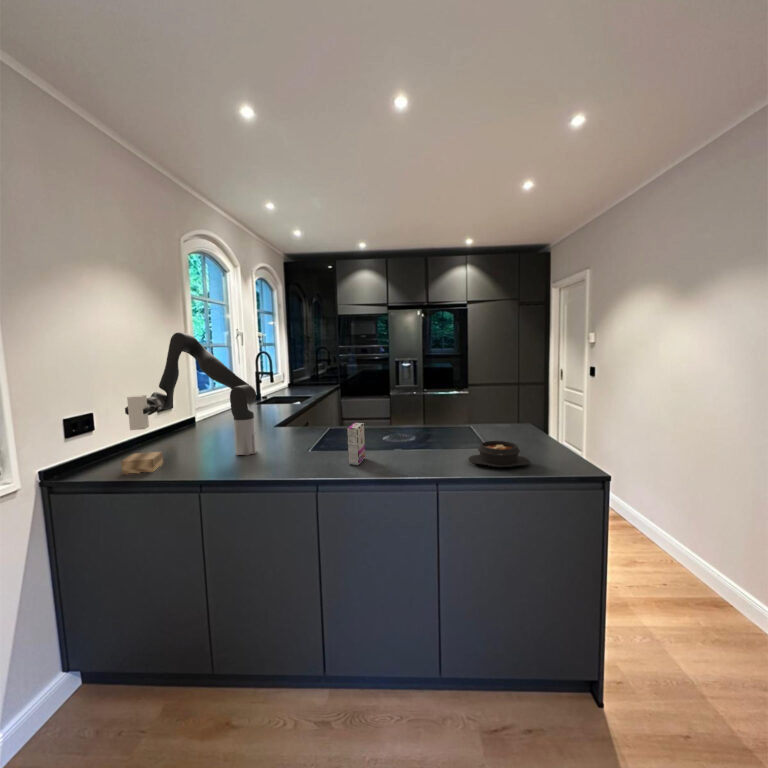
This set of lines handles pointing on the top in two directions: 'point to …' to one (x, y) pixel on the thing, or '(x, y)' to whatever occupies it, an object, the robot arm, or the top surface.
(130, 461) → the oak block
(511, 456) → the casserole
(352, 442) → the candy bar box
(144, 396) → the off-white column
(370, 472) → the top surface
